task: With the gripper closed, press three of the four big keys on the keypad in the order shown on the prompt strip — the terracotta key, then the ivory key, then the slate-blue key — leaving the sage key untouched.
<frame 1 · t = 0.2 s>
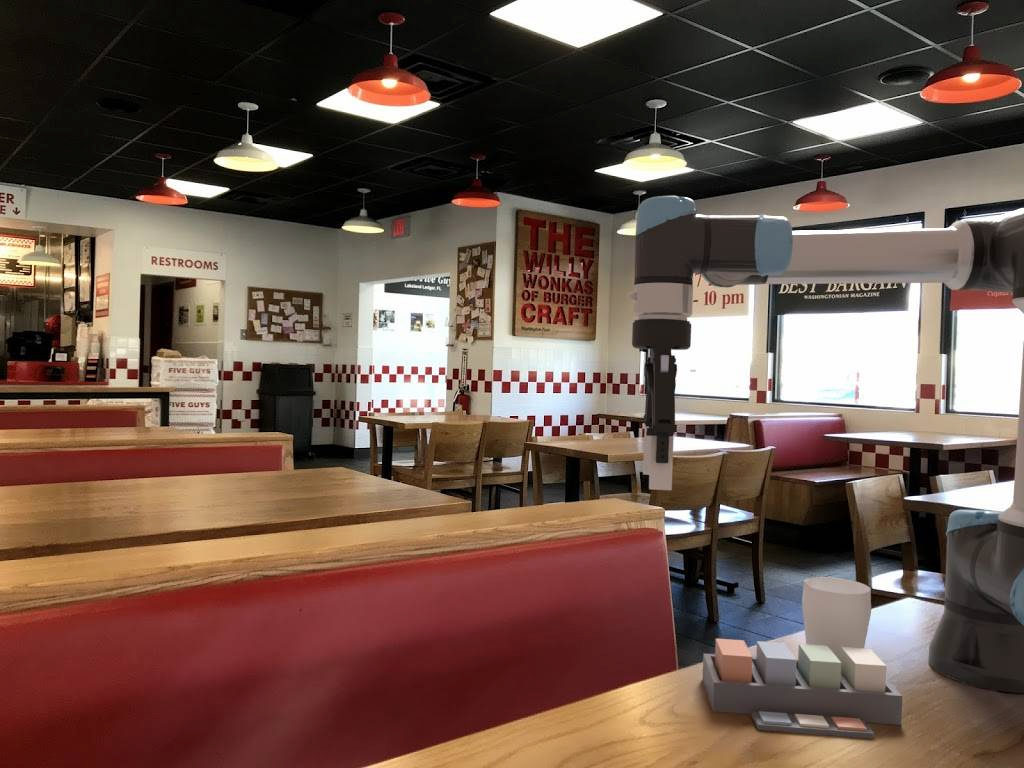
hand: (656, 481, 104), 27 cm above the table, fingers open, 13 cm apart
key slate: (775, 663, 101), point 5 cm above the table, slide at 0.0 cm
key ivory: (862, 669, 100), point 5 cm above the table, slide at 0.0 cm
cup: (833, 671, 112), on the table
key terracotta: (733, 660, 102), point 5 cm above the table, slide at 0.0 cm
keypad: (795, 700, 101), on the table
prompt strip: (811, 727, 94), on the table
key sage: (818, 666, 101), point 5 cm above the table, slide at 0.0 cm
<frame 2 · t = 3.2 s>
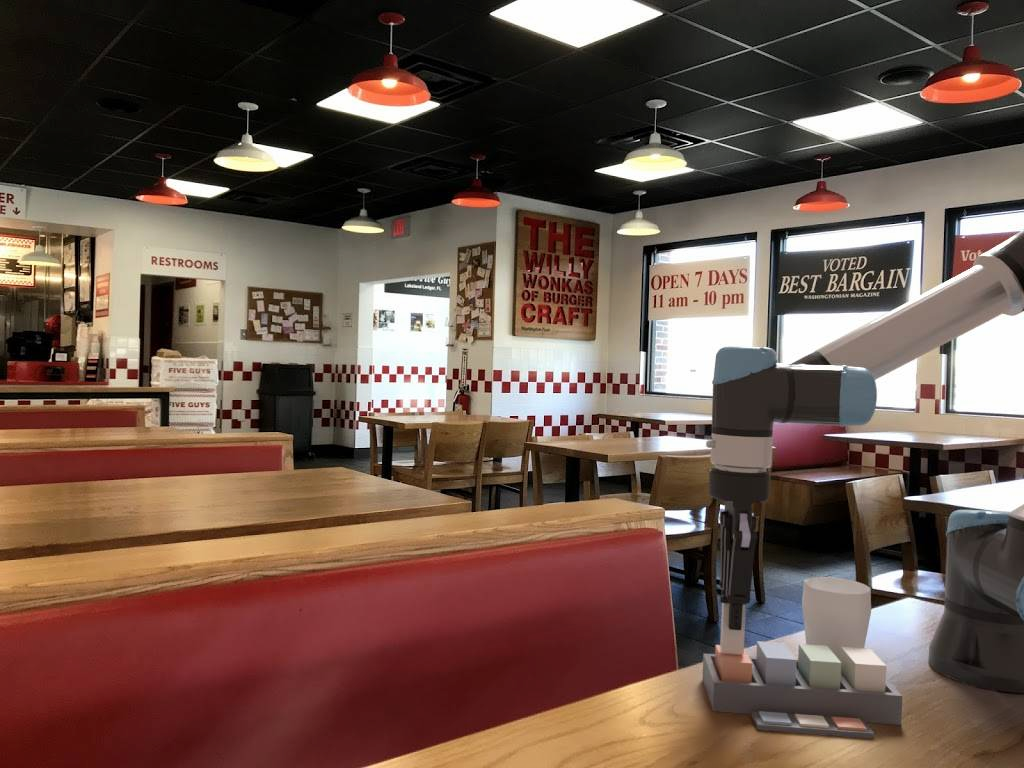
hand: (731, 651, 102), 6 cm above the table, fingers closed
key terracotta: (732, 667, 102), point 4 cm above the table, slide at 0.8 cm, touching gripper
everything else where it was.
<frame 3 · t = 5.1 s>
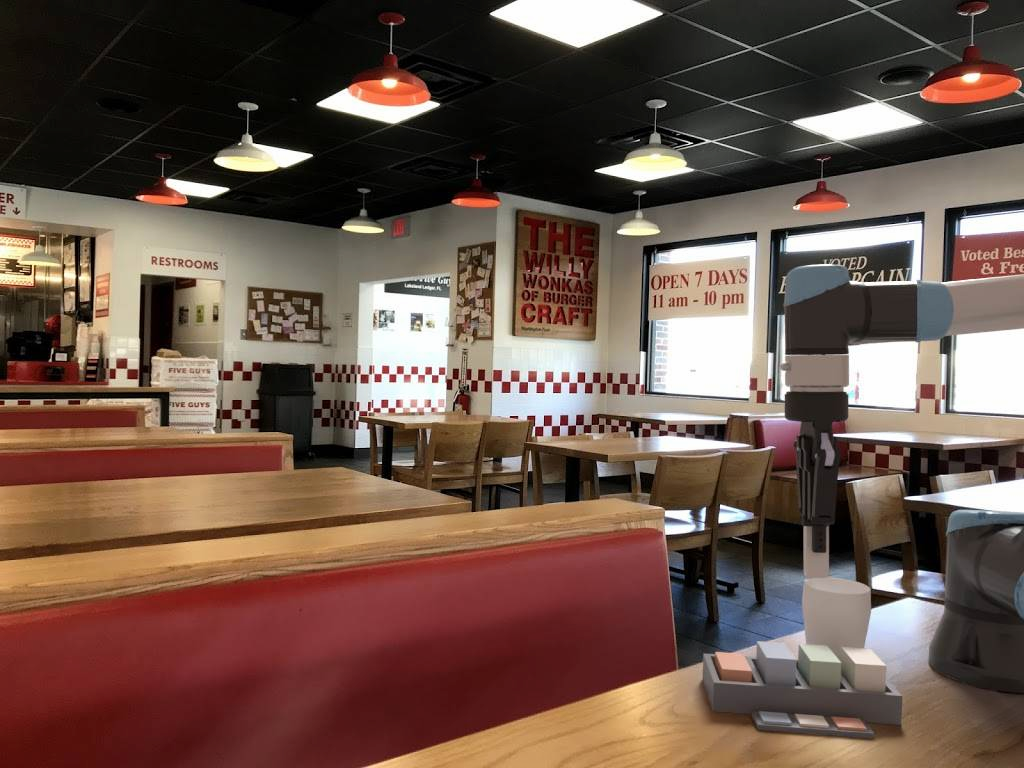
hand: (816, 576, 101), 16 cm above the table, fingers closed
key terracotta: (732, 674, 102), point 3 cm above the table, slide at 1.8 cm
everything else where it was.
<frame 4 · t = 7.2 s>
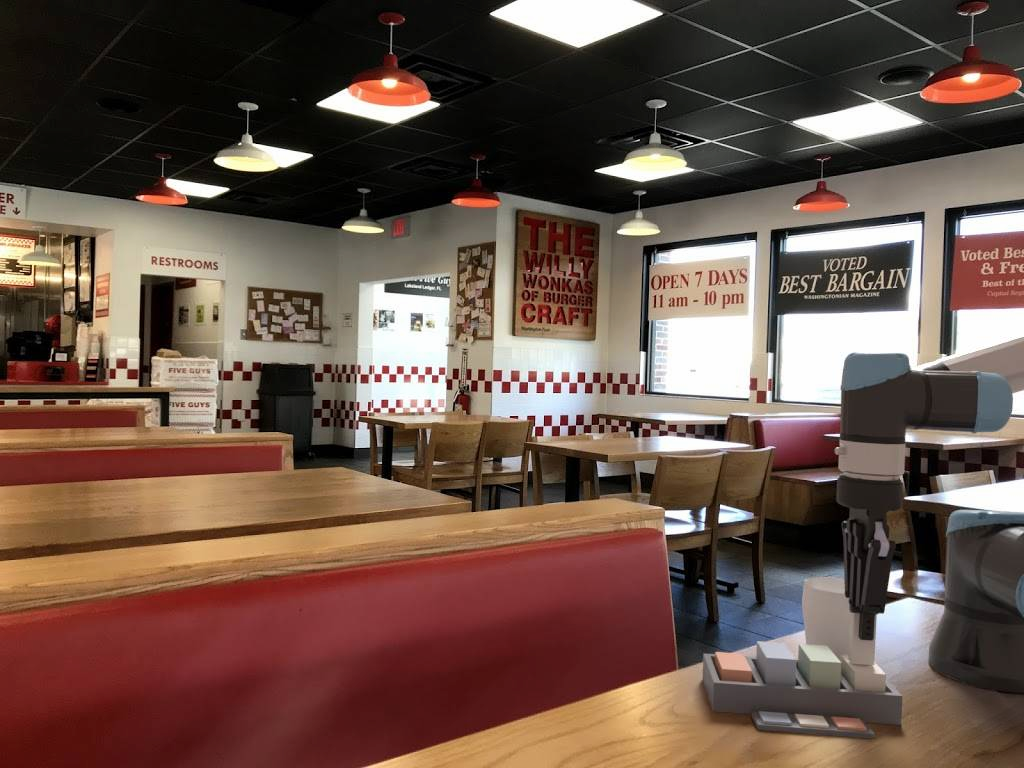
hand: (861, 662, 100), 6 cm above the table, fingers closed
key ivory: (862, 678, 100), point 3 cm above the table, slide at 1.1 cm, touching gripper
everything else where it was.
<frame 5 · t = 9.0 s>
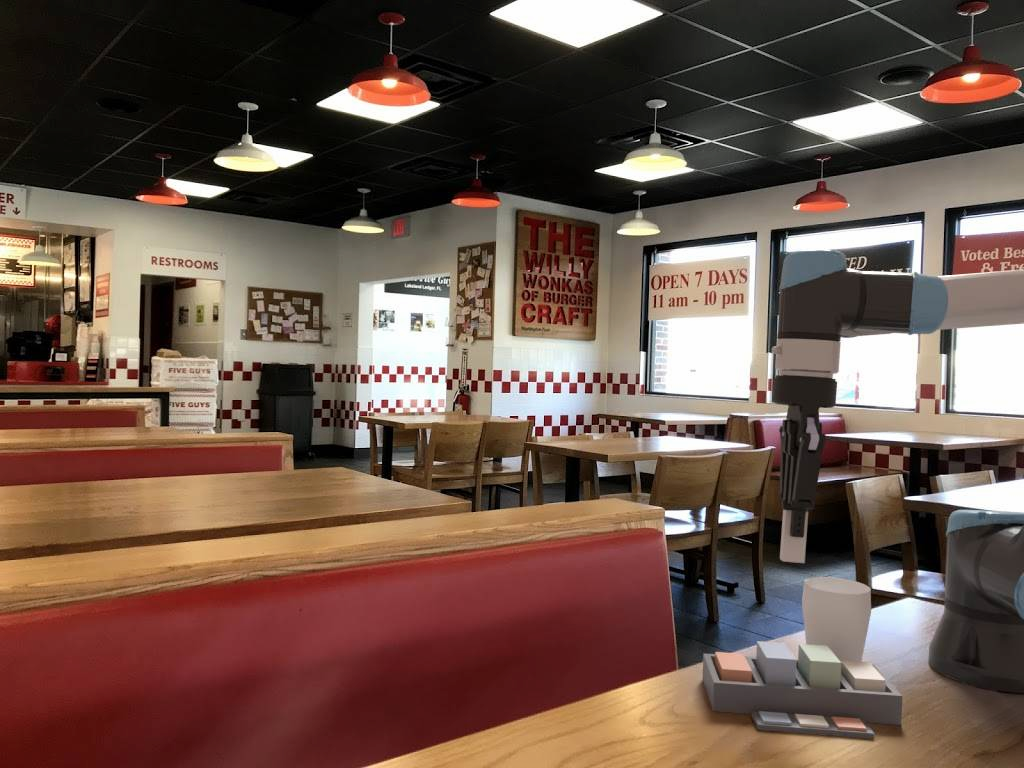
hand: (792, 560, 101), 18 cm above the table, fingers closed
key ivory: (861, 683, 100), point 3 cm above the table, slide at 1.8 cm
everything else where it was.
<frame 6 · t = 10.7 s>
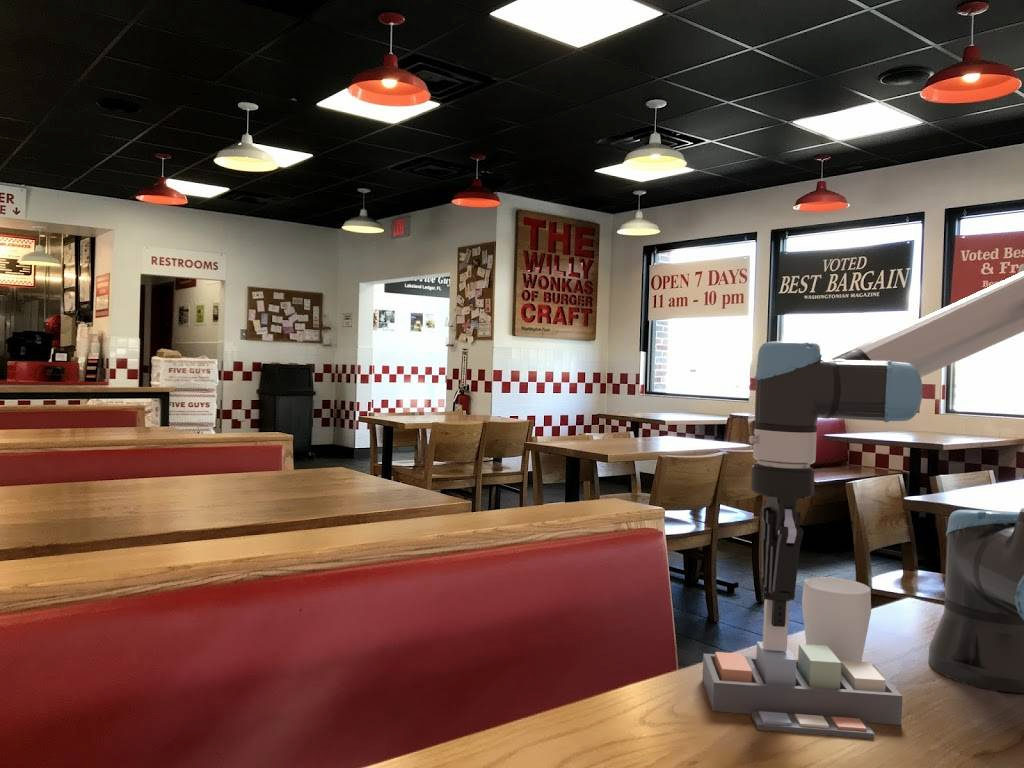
hand: (774, 648, 101), 7 cm above the table, fingers closed
key slate: (775, 664, 101), point 5 cm above the table, slide at 0.0 cm, touching gripper
everything else where it was.
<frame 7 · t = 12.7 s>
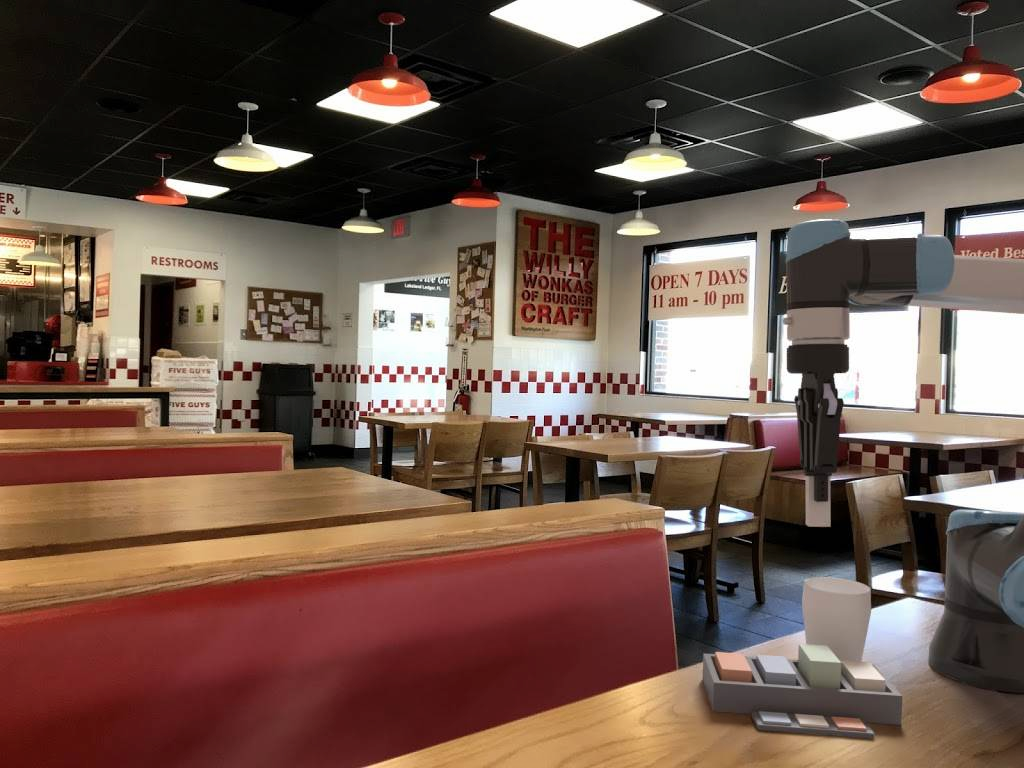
hand: (818, 525, 103), 22 cm above the table, fingers closed
key slate: (775, 677, 102), point 3 cm above the table, slide at 1.8 cm
everything else where it was.
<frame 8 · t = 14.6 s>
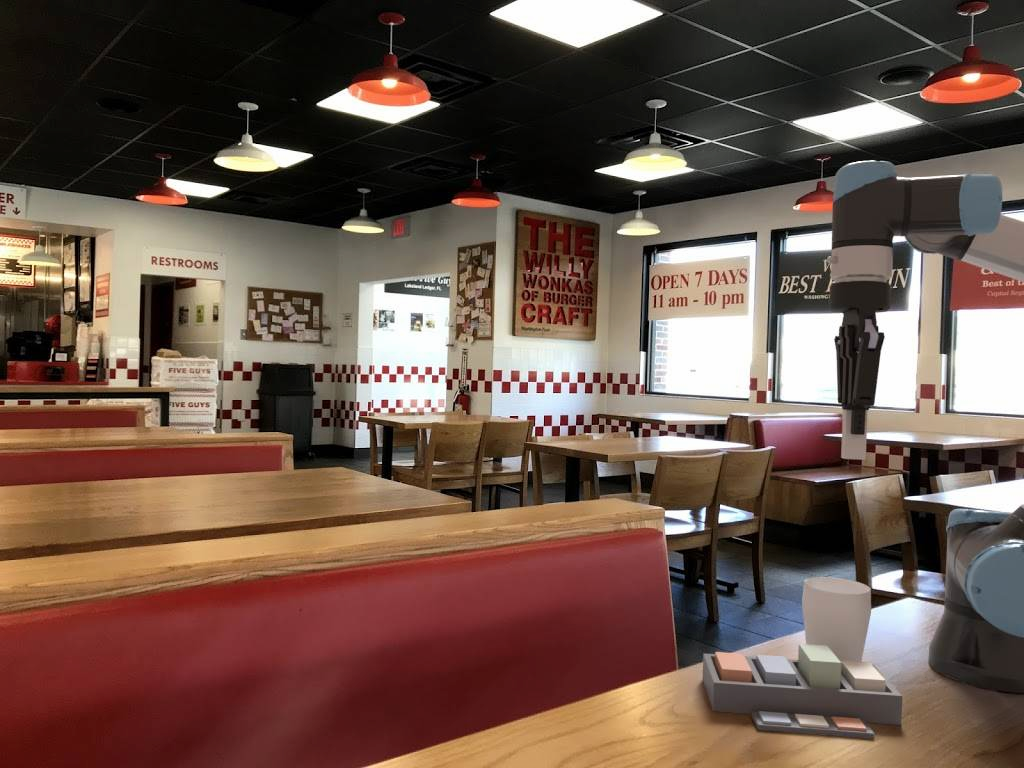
hand: (853, 458, 107), 30 cm above the table, fingers closed
nothing on the table moved.
at the end: key terracotta slide at 1.8 cm; key ivory slide at 1.8 cm; key slate slide at 1.8 cm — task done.
